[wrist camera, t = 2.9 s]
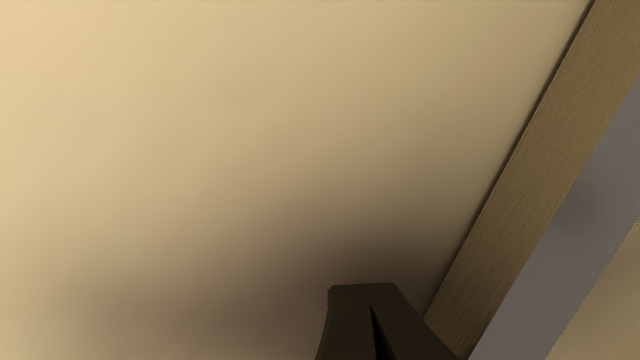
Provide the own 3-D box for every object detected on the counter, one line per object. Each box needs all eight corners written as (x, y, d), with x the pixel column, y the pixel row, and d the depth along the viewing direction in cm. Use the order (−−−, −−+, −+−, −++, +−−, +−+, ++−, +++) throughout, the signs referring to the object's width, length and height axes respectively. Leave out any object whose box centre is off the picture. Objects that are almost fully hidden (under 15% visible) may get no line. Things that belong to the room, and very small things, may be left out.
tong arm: (687, -19, 11) (781, 0, 9) (409, 449, 15) (430, 532, 13) (602, -57, 10) (681, -47, 8) (343, 434, 15) (354, 517, 13)
